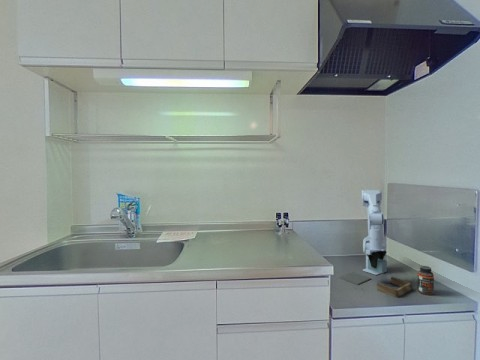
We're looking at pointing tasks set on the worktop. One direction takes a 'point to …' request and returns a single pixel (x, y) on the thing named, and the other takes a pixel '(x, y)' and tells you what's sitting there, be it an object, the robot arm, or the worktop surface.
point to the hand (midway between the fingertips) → (376, 266)
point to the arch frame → (398, 292)
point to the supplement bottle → (425, 281)
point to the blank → (379, 266)
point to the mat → (355, 278)
